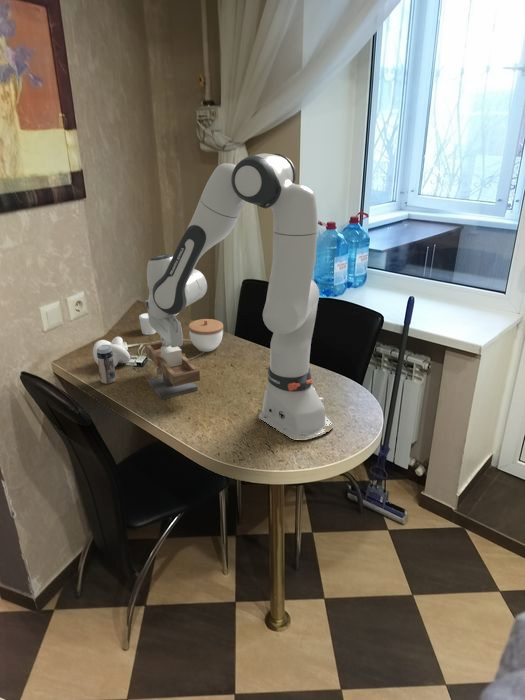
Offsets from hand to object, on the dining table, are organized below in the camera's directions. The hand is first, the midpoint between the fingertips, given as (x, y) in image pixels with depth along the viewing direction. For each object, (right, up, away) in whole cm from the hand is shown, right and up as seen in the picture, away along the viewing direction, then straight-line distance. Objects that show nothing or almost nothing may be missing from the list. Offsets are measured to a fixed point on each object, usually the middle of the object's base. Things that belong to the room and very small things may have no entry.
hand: (166, 349), depth 157 cm
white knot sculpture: (-22, -6, +15) cm, 27 cm away
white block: (+2, -4, -2) cm, 5 cm away
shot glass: (-15, +7, +42) cm, 45 cm away
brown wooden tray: (+2, -12, +2) cm, 12 cm away
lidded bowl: (+9, +1, +30) cm, 31 cm away
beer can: (-20, -10, +4) cm, 23 cm away
